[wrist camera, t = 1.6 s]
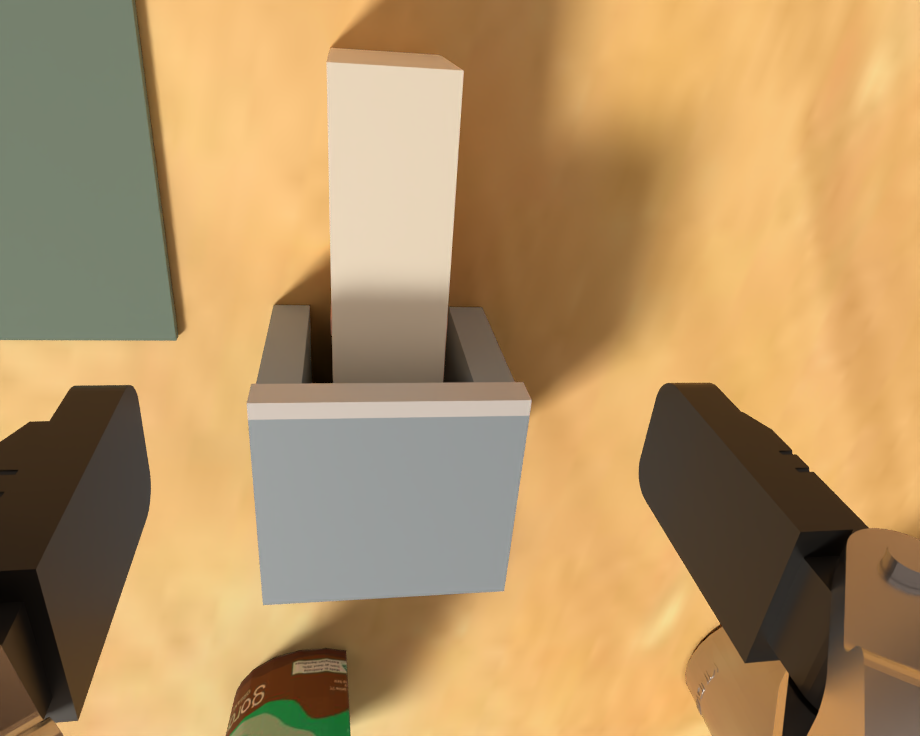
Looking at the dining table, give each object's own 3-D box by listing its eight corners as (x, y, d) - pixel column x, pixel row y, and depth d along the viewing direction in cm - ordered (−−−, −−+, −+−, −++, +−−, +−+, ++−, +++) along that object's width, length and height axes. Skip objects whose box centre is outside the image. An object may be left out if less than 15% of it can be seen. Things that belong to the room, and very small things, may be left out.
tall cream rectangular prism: (440, 54, 26) (465, 70, 20) (425, 343, 31) (442, 413, 26) (328, 47, 25) (325, 61, 20) (334, 343, 31) (332, 415, 25)
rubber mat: (124, -84, 22) (120, -85, 22) (178, 336, 29) (176, 340, 29) (-121, -108, 21) (-129, -110, 21) (-3, 335, 28) (-8, 339, 28)
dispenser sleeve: (483, 294, 30) (531, 400, 23) (467, 454, 34) (503, 591, 27) (272, 291, 29) (246, 403, 21) (282, 459, 33) (263, 605, 25)
